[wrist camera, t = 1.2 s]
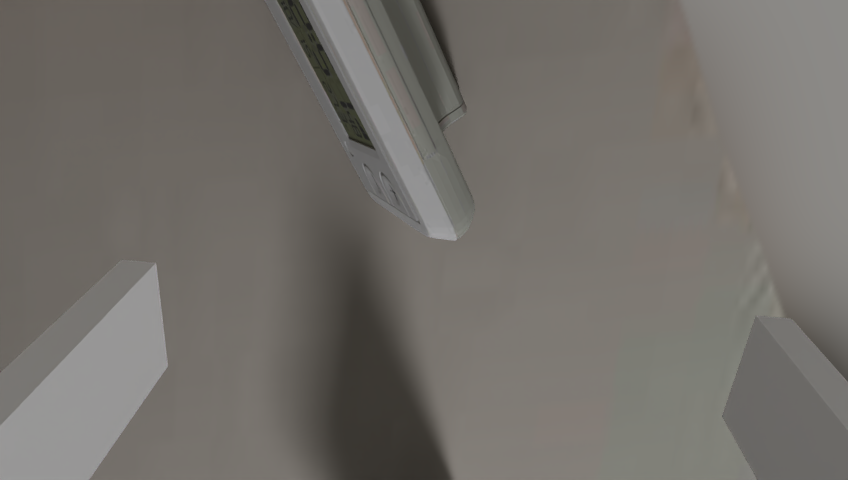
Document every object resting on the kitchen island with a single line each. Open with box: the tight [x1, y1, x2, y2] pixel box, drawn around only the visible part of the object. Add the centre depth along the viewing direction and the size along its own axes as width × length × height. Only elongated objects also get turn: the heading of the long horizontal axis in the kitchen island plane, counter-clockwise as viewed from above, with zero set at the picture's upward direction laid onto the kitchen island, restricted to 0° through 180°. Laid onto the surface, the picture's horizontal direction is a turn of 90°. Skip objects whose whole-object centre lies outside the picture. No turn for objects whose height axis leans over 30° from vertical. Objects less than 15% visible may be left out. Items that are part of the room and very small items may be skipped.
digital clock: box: [265, 0, 475, 240], centre depth 30 cm, size 16×9×11 cm, turn 13°
